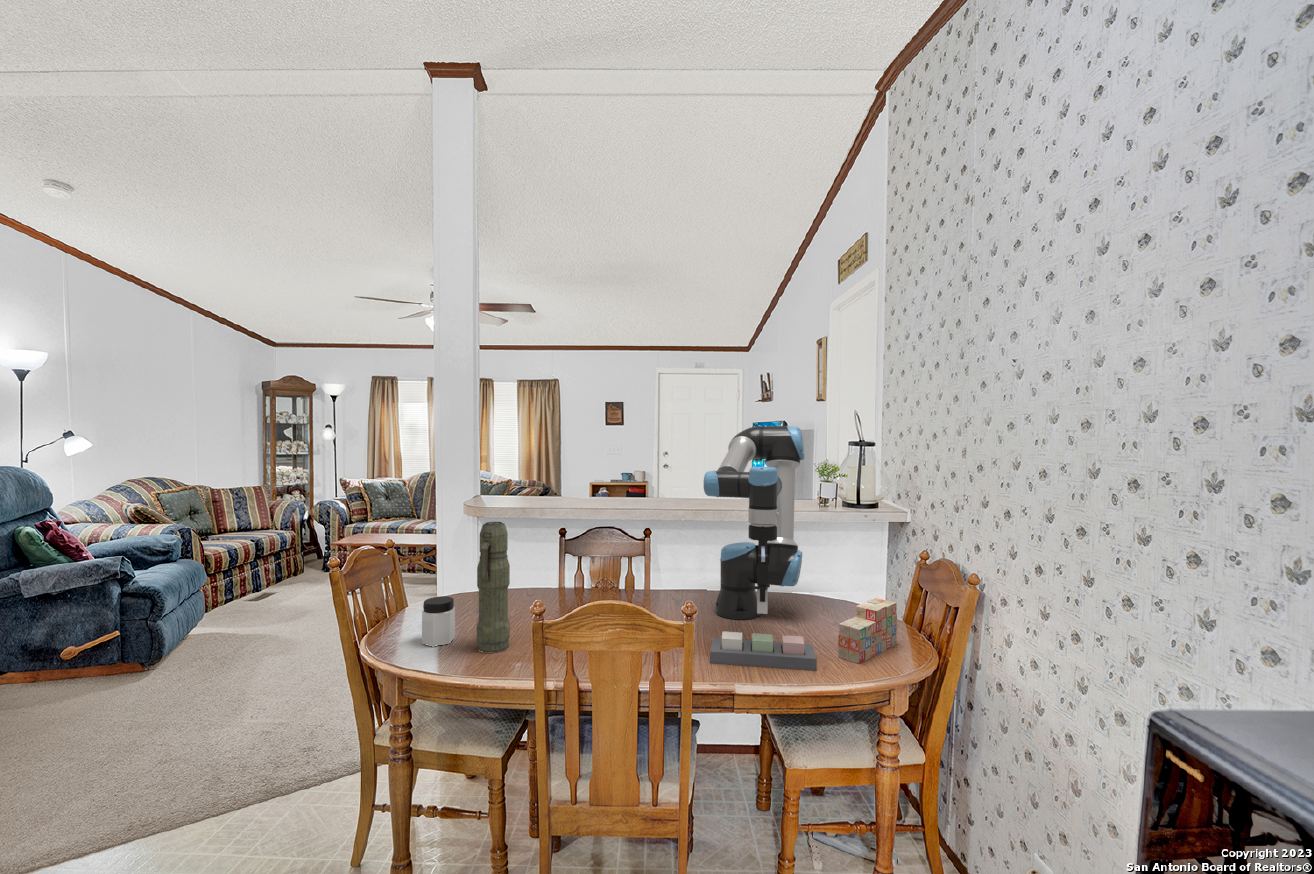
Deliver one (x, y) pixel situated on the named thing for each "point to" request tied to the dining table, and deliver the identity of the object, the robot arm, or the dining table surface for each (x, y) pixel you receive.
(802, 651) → the rose button
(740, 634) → the white button
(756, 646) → the sage button
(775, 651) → the button panel
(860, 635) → the stack of blocks
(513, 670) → the dining table surface
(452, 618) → the jar
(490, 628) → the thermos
